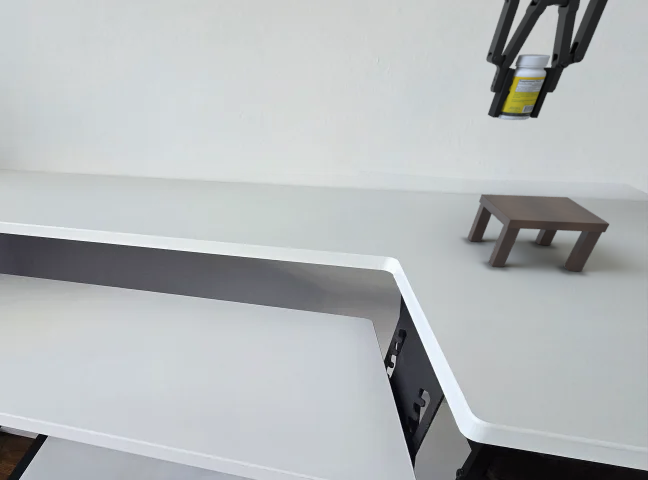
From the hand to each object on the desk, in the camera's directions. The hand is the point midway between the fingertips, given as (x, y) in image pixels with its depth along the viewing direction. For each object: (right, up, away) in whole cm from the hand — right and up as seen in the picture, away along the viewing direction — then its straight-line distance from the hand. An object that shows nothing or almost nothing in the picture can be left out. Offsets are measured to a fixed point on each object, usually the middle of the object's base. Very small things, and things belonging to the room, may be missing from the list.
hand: (512, 116), depth 78 cm
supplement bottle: (0, 0, 0) cm, 1 cm away
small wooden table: (-1, -22, -2) cm, 23 cm away
